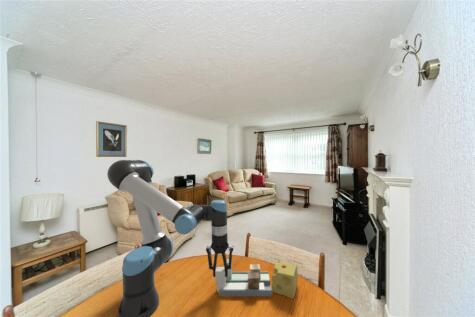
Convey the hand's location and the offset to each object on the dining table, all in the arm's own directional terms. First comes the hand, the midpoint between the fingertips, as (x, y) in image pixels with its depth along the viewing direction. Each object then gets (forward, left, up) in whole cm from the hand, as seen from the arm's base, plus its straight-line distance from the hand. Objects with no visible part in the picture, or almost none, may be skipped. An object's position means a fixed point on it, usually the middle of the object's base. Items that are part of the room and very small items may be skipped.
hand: (220, 283), depth 85 cm
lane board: (+12, +4, -4) cm, 13 cm away
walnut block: (+15, 0, -1) cm, 16 cm away
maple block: (+17, +7, -1) cm, 18 cm away
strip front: (+9, 0, -2) cm, 10 cm away
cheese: (+31, +2, -4) cm, 31 cm away
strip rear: (+13, +7, -2) cm, 15 cm away
